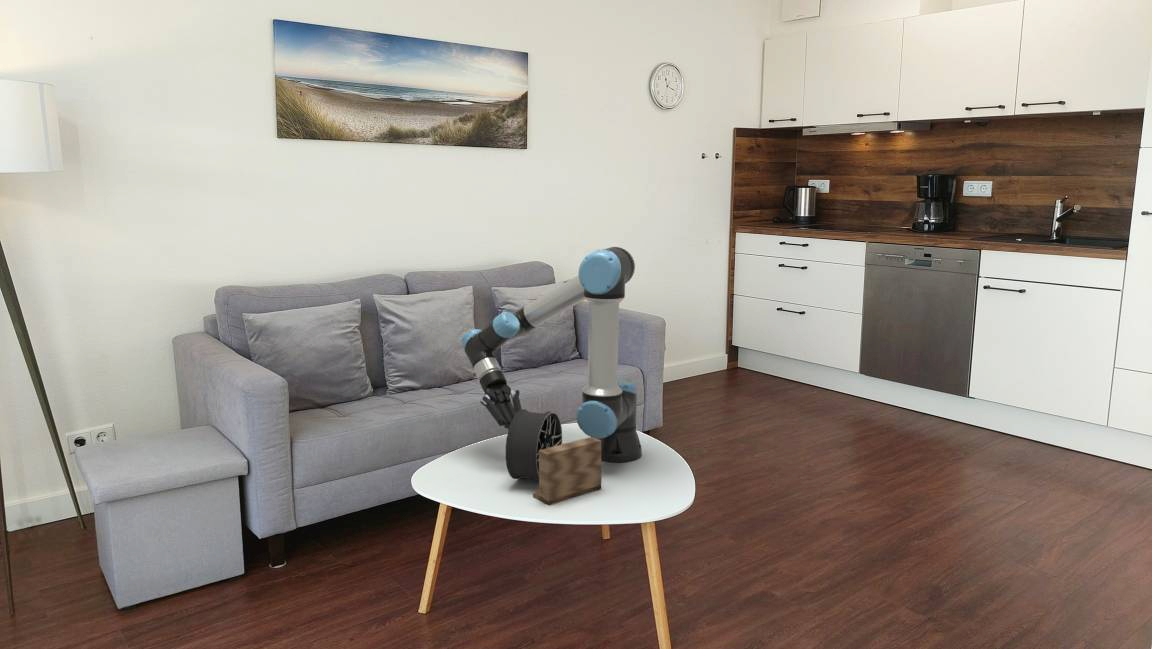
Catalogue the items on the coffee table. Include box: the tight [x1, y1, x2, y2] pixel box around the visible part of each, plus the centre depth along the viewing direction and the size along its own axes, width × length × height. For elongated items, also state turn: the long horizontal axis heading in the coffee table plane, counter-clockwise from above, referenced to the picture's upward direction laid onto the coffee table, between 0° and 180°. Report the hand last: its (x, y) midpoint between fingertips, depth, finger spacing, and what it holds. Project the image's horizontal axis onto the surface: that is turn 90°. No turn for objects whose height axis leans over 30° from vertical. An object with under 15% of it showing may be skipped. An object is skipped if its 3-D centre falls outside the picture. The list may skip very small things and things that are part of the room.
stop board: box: [532, 436, 602, 506], centre depth 222 cm, size 18×7×14 cm, turn 128°
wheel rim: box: [504, 408, 563, 483], centre depth 232 cm, size 20×9×20 cm, turn 160°
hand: (521, 443), depth 237 cm, fingers closed
